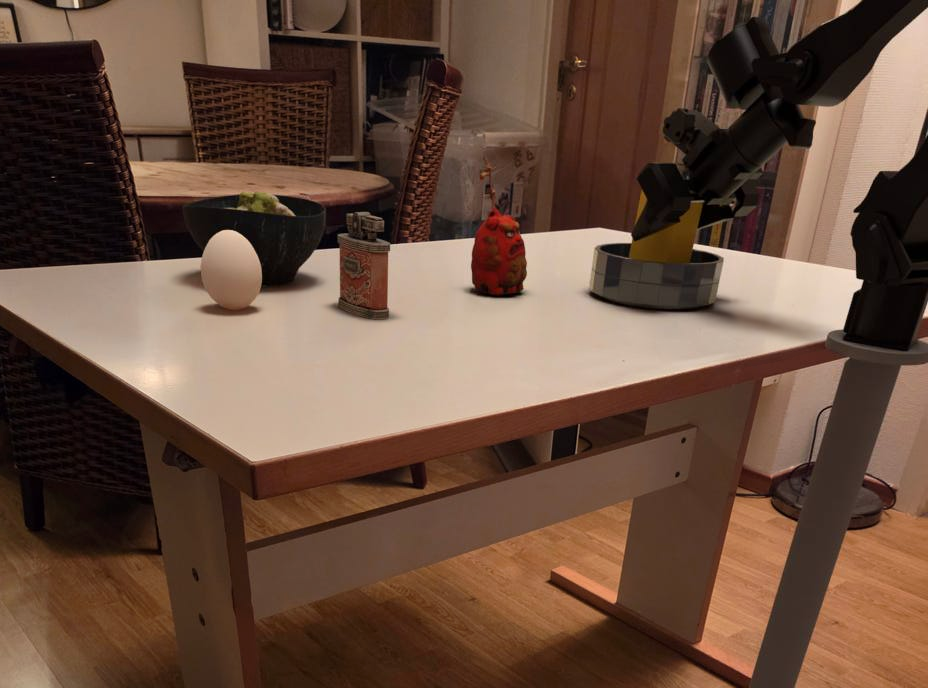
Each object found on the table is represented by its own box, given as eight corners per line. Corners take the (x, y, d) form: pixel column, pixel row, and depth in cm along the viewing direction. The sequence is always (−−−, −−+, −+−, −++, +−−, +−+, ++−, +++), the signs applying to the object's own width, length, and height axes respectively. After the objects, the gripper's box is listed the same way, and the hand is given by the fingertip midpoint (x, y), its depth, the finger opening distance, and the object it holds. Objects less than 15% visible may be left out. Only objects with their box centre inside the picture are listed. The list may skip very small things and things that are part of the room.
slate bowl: (731, 299, 115) (741, 255, 112) (687, 318, 103) (696, 268, 100) (620, 281, 122) (626, 239, 119) (567, 296, 111) (573, 250, 108)
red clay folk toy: (507, 300, 107) (519, 162, 98) (457, 292, 109) (465, 157, 101) (532, 291, 112) (545, 160, 104) (484, 284, 115) (493, 155, 107)
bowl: (164, 285, 103) (153, 192, 98) (226, 264, 117) (219, 181, 112) (299, 299, 100) (295, 204, 95) (345, 275, 114) (344, 191, 109)
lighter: (331, 305, 99) (330, 208, 93) (356, 303, 100) (356, 207, 95) (370, 320, 93) (370, 218, 88) (396, 317, 95) (398, 217, 90)
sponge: (682, 295, 112) (706, 188, 106) (660, 296, 109) (683, 185, 103) (645, 287, 116) (666, 183, 110) (622, 288, 113) (643, 180, 107)
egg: (192, 307, 94) (184, 227, 90) (240, 300, 98) (234, 224, 94) (227, 318, 90) (221, 236, 86) (275, 311, 95) (272, 232, 90)
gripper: (761, 86, 103) (668, 180, 116) (666, 77, 92) (575, 182, 105) (803, 167, 102) (705, 253, 115) (712, 168, 92) (615, 262, 104)
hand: (652, 236), depth 110 cm, fingers open, 7 cm apart
